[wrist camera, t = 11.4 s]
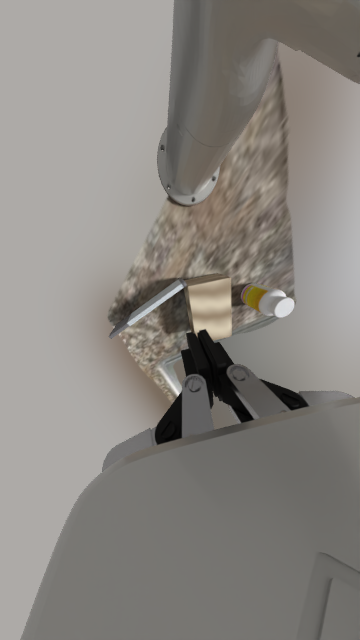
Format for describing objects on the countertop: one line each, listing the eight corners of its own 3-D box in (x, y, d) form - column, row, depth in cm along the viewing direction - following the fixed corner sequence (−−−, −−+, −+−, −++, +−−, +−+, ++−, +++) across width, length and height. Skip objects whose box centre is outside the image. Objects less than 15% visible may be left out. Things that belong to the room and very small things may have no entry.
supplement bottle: (239, 305, 43) (268, 324, 32) (240, 284, 40) (272, 296, 29) (259, 301, 44) (295, 318, 32) (261, 280, 41) (302, 290, 29)
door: (180, 276, 36) (184, 280, 30) (183, 280, 37) (187, 285, 31) (115, 324, 39) (108, 336, 34) (118, 327, 40) (111, 339, 34)
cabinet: (182, 280, 38) (187, 286, 30) (217, 273, 38) (230, 277, 31) (190, 329, 45) (196, 344, 38) (220, 323, 45) (231, 336, 38)
